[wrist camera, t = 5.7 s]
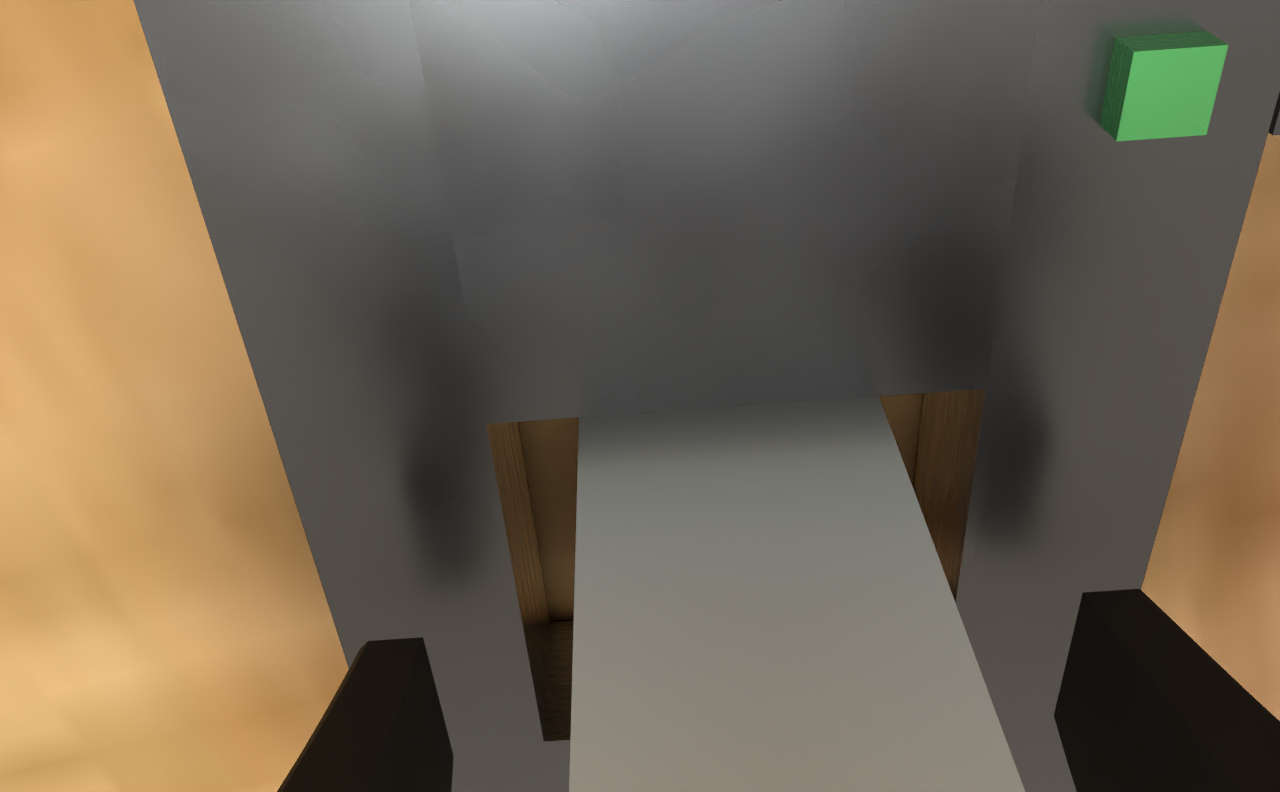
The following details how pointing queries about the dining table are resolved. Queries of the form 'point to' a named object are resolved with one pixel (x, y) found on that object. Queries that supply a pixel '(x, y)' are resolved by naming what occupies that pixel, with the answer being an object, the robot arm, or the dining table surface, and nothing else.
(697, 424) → the plug
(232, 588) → the dining table surface
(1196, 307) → the port panel
